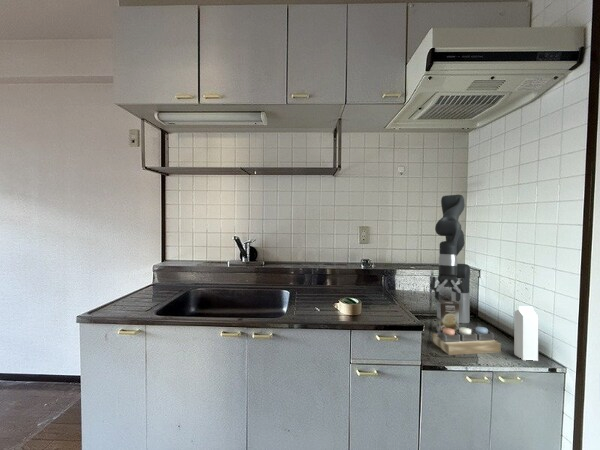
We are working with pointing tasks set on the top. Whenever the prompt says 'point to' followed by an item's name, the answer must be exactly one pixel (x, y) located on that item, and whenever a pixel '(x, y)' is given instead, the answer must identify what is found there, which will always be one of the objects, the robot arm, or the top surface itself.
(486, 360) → the top surface
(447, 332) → the terracotta button
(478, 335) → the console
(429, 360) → the top surface
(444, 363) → the top surface
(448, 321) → the coffee box
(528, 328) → the milk
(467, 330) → the cream button
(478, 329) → the slate blue button
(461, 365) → the top surface
